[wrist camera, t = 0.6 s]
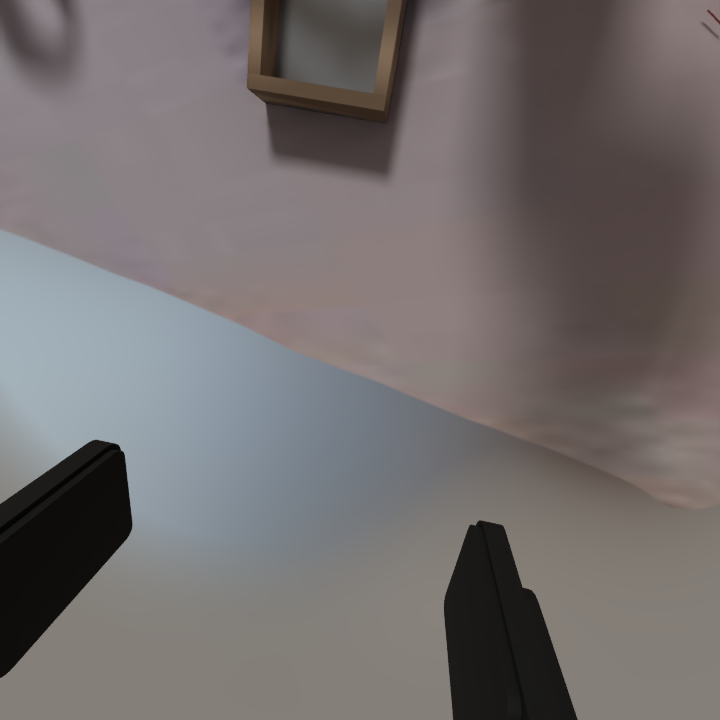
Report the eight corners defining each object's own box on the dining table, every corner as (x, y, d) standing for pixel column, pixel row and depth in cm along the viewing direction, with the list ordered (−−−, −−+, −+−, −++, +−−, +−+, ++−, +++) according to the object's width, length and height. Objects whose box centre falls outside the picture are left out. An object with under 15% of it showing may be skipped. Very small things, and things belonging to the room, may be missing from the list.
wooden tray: (277, -98, 28) (257, -147, 24) (421, -79, 27) (422, -126, 24) (265, 103, 33) (246, 88, 29) (386, 123, 32) (383, 110, 28)
